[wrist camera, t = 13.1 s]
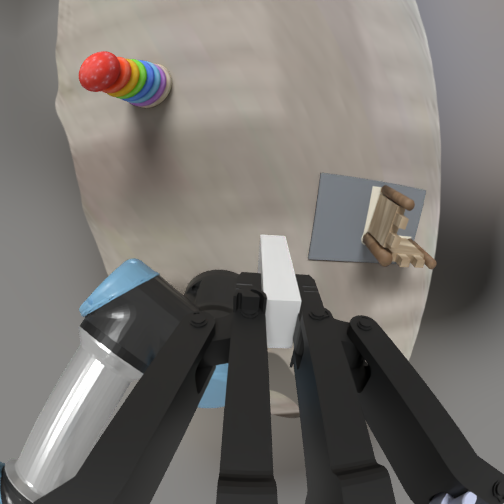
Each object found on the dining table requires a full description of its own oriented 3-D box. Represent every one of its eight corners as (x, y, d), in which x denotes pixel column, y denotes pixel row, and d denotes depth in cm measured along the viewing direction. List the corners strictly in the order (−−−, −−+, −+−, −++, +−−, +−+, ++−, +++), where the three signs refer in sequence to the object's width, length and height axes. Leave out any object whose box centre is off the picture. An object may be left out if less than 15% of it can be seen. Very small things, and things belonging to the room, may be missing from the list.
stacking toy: (173, 61, 34) (124, 28, 18) (173, 105, 38) (121, 95, 21) (130, 69, 34) (66, 49, 18) (129, 111, 38) (63, 111, 21)
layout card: (405, 263, 51) (406, 264, 50) (308, 258, 50) (308, 259, 50) (425, 190, 43) (426, 190, 43) (320, 172, 43) (321, 173, 43)
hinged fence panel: (367, 230, 47) (387, 252, 39) (382, 183, 43) (407, 198, 35) (375, 232, 47) (396, 254, 39) (390, 186, 43) (416, 201, 35)
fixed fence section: (409, 247, 49) (433, 270, 40) (360, 242, 49) (380, 268, 40) (412, 236, 48) (438, 258, 39) (362, 231, 48) (384, 255, 39)
